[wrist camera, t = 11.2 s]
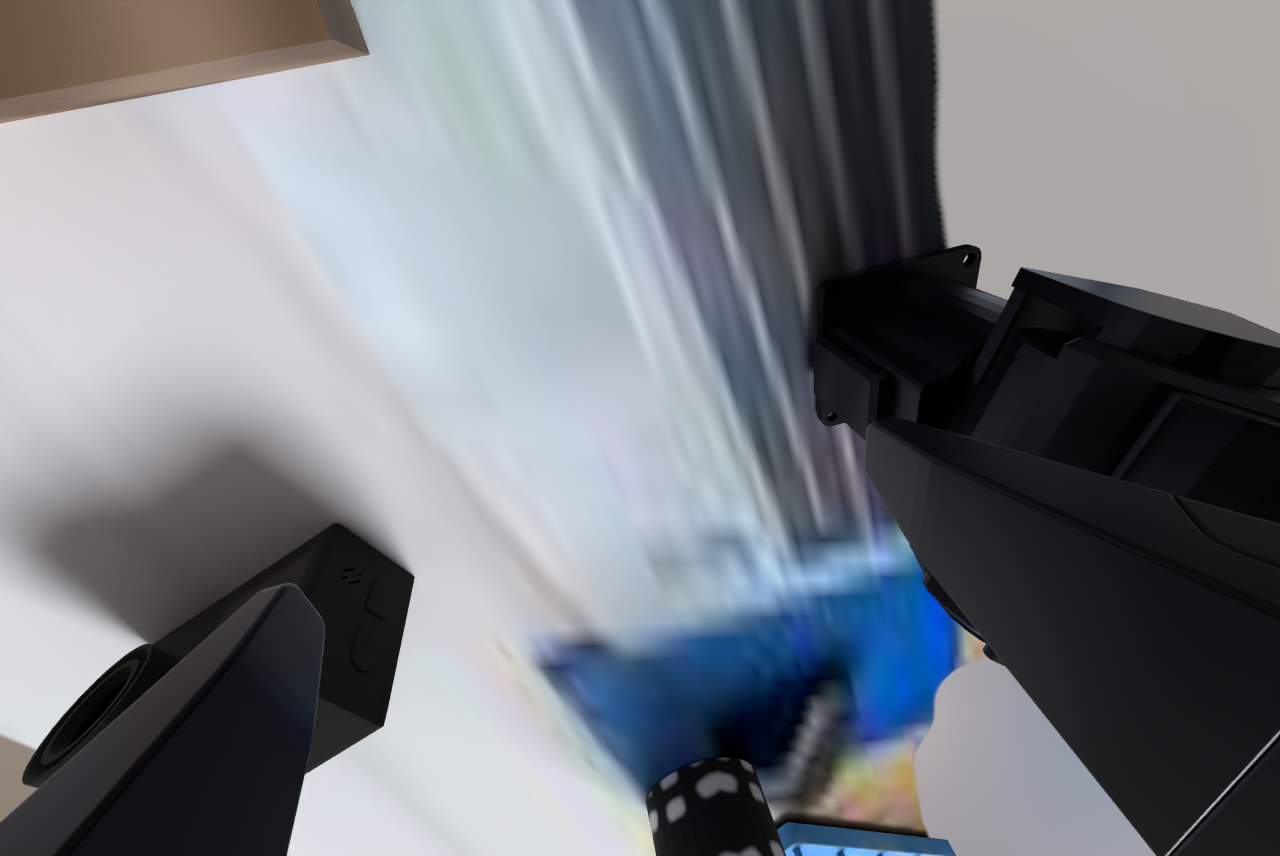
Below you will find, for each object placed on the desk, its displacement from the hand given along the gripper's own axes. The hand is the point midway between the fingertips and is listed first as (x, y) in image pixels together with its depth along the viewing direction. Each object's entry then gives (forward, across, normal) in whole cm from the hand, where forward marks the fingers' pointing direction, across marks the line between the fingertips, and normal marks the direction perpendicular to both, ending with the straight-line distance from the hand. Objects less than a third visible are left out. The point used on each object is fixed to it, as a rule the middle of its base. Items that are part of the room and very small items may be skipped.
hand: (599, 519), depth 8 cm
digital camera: (+12, +15, +10) cm, 22 cm away
